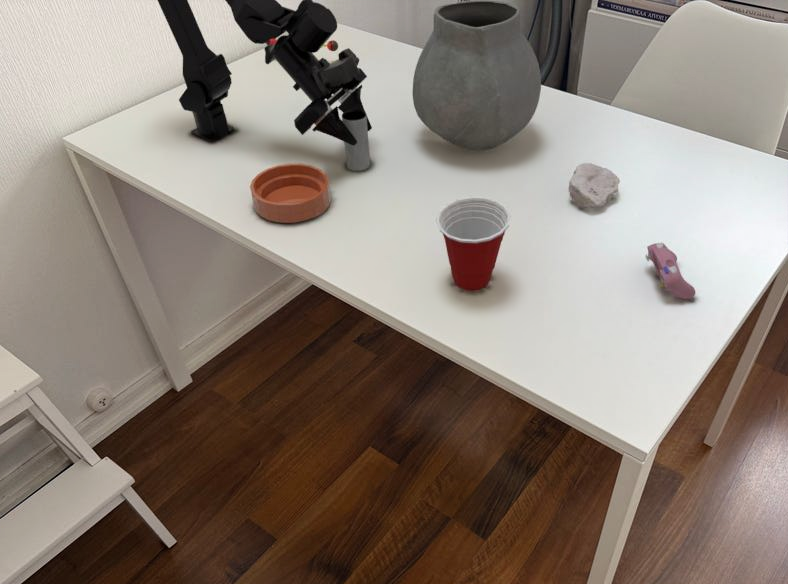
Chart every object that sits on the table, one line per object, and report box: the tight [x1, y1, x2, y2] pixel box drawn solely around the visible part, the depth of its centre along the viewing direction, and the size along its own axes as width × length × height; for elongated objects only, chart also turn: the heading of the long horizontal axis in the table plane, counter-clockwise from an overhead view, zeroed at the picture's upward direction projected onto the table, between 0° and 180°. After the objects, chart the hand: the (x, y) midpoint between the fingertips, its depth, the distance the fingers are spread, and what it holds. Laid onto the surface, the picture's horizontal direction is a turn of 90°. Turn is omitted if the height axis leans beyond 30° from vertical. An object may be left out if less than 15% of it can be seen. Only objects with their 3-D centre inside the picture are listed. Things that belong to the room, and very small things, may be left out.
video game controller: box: [645, 241, 696, 300], centre depth 103 cm, size 10×5×7 cm, turn 5°
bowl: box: [249, 163, 332, 224], centre depth 119 cm, size 14×14×4 cm
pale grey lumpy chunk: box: [568, 162, 621, 209], centre depth 120 cm, size 9×6×10 cm
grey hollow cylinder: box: [341, 109, 371, 172], centre depth 126 cm, size 4×4×10 cm
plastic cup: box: [435, 196, 512, 292], centre depth 101 cm, size 11×11×12 cm
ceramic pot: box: [411, 0, 542, 151], centre depth 128 cm, size 24×24×25 cm
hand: (363, 136), depth 125 cm, fingers open, 6 cm apart
